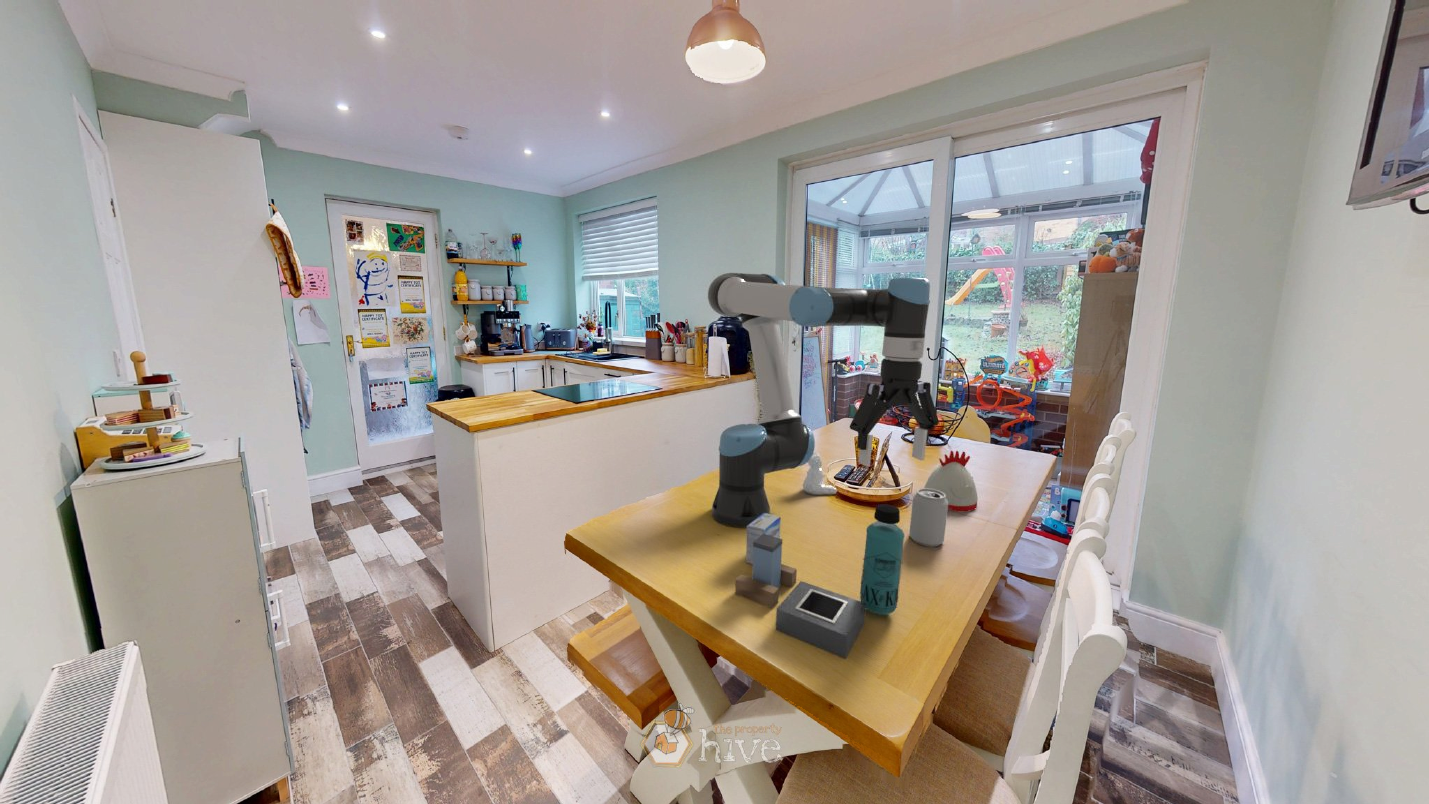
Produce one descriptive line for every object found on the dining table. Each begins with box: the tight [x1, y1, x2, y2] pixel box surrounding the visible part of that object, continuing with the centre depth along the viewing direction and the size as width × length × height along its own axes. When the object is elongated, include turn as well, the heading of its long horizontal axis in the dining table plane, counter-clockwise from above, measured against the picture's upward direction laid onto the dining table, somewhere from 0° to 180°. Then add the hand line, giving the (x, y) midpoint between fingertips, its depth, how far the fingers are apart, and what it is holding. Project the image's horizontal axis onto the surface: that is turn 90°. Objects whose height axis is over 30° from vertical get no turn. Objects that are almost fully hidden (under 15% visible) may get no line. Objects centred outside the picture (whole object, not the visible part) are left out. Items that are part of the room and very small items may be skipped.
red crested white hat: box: [924, 450, 979, 512], centre depth 134 cm, size 14×14×15 cm
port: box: [775, 580, 867, 659], centre depth 81 cm, size 12×10×4 cm
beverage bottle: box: [859, 503, 905, 615], centre depth 84 cm, size 6×7×20 cm
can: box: [909, 488, 949, 547], centre depth 112 cm, size 8×8×12 cm
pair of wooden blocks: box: [734, 563, 798, 609], centre depth 92 cm, size 8×10×3 cm
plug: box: [752, 534, 783, 589], centre depth 92 cm, size 4×4×10 cm
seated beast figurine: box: [802, 452, 837, 496], centre depth 141 cm, size 10×9×12 cm
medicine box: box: [745, 513, 782, 565], centre depth 103 cm, size 8×4×9 cm, turn 148°
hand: (891, 461), depth 99 cm, fingers open, 13 cm apart
